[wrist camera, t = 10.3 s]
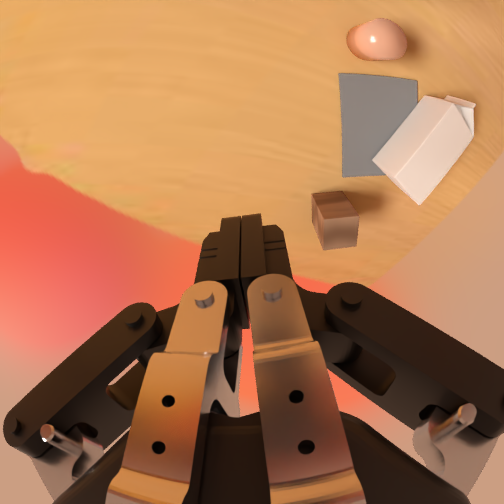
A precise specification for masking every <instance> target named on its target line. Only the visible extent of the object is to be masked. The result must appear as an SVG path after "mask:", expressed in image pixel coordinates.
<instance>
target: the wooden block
mask: <svg viewBox="0 0 504 504" xmlns="http://www.w3.org/2000/svg"><path fill="white" fill-rule="evenodd" d="M311 195H312V222H313V225H314V227H315V230H316V233H317V235H318V238H319V240H320V243H321V246H322V248H323V250H330V249H338V248H347V247H355V246H357V236H358V226H359V215H358V213H357V212H356V210H355V209H354V207H353V206H352V204H351V203H350V202H349V200H348V199H347V197H346V196H345V195H344V193H343V192H342V191H337V192H326V193H315V194H311Z"/></svg>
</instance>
